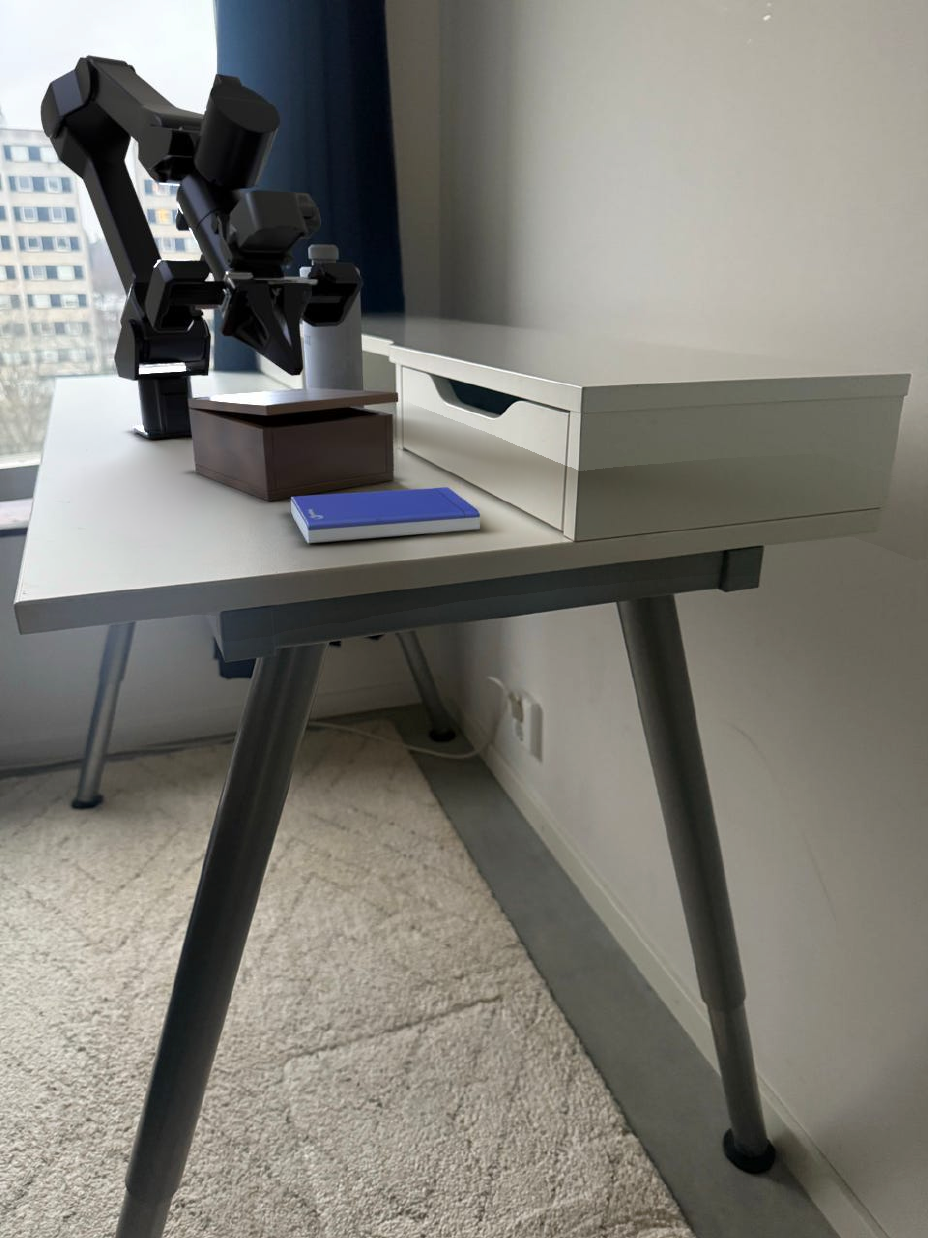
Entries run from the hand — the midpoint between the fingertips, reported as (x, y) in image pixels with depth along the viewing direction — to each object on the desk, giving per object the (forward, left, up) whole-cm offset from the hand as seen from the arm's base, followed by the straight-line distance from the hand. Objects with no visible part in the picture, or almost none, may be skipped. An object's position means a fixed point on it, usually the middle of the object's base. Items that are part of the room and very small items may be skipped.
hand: (297, 372), depth 73 cm
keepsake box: (-2, 0, -9) cm, 9 cm away
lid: (-1, 0, -3) cm, 3 cm away
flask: (-30, +18, -9) cm, 36 cm away
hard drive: (+16, -1, -9) cm, 19 cm away
